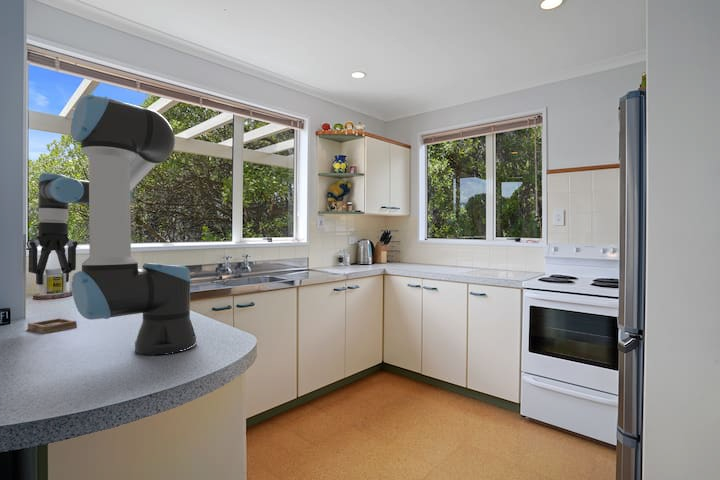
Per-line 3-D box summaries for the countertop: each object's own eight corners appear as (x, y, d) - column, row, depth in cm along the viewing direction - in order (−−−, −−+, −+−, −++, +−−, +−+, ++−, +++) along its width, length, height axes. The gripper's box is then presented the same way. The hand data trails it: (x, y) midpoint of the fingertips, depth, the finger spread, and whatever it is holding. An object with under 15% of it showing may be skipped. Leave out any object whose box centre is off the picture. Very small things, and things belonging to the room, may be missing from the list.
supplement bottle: (53, 295, 121) (54, 269, 121) (39, 295, 121) (39, 269, 121) (65, 293, 125) (66, 268, 125) (51, 293, 126) (52, 267, 125)
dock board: (76, 327, 125) (76, 321, 125) (44, 333, 117) (44, 326, 117) (59, 323, 129) (59, 318, 129) (27, 329, 121) (27, 323, 121)
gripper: (76, 223, 133) (76, 289, 133) (13, 220, 116) (12, 296, 117) (89, 223, 129) (89, 291, 130) (26, 220, 113) (25, 298, 113)
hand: (52, 293), depth 123 cm, fingers closed on supplement bottle, 5 cm apart
